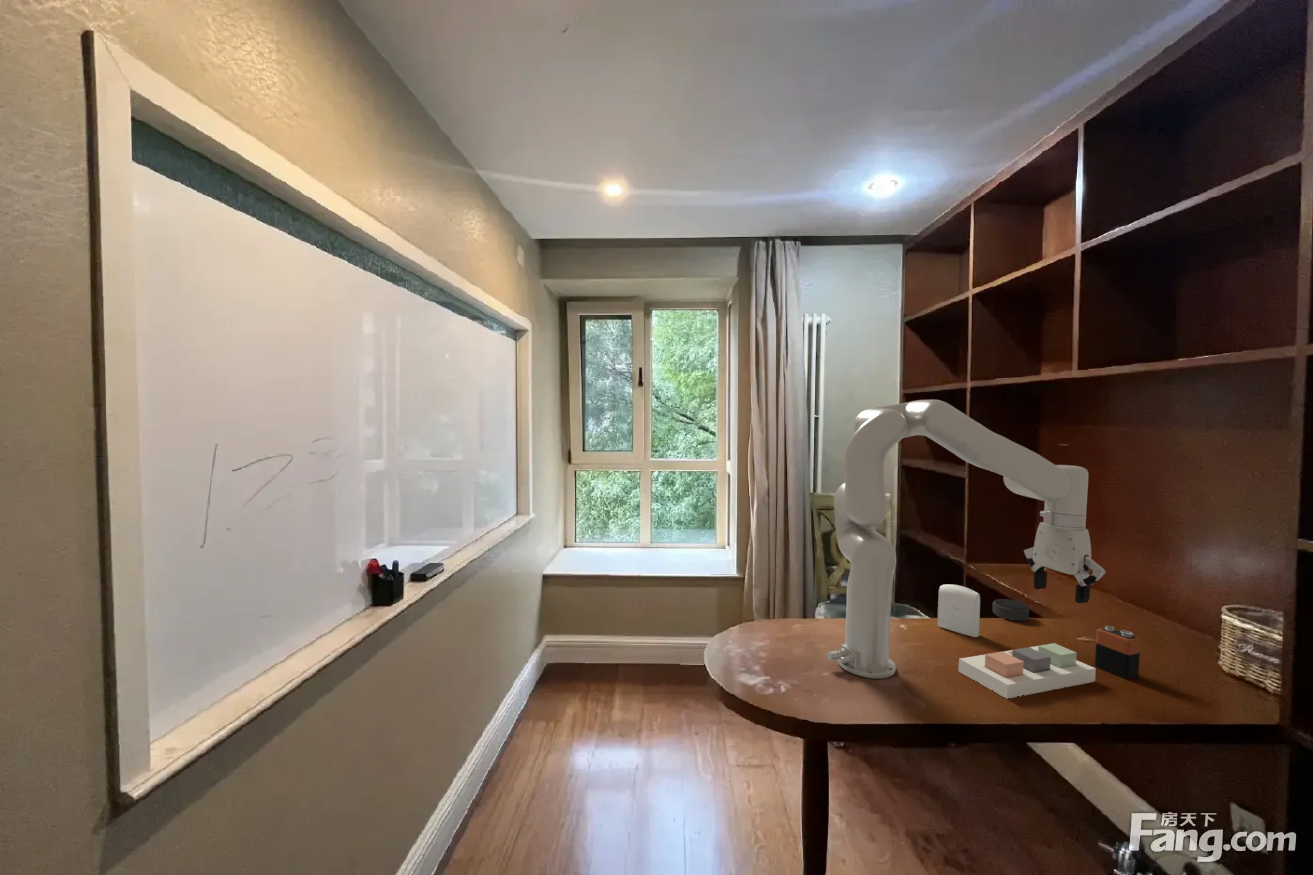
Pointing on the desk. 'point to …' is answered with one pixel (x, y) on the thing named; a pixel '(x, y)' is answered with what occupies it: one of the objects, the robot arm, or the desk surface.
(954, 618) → the photo printer
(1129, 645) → the battery
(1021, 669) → the terracotta key
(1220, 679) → the desk surface
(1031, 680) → the white flat slab
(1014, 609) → the smart speaker
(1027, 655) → the charcoal key
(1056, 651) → the sage key
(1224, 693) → the desk surface
